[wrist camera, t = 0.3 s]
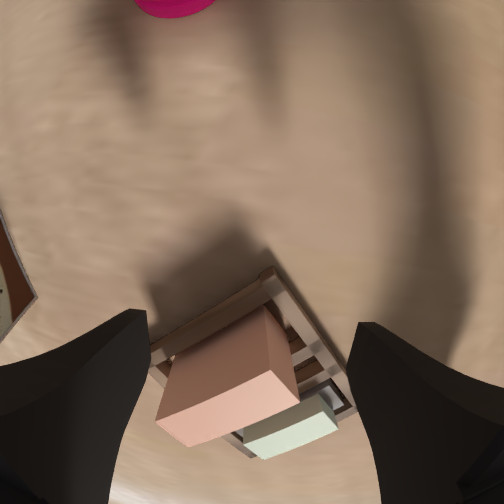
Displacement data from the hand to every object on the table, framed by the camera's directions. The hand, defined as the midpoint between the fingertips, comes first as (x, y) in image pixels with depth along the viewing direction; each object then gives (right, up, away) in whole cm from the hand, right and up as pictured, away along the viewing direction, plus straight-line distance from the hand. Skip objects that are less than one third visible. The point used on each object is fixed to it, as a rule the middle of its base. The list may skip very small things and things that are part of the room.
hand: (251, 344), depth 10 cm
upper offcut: (+3, -11, +13) cm, 17 cm away
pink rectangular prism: (-2, -4, +12) cm, 13 cm away
